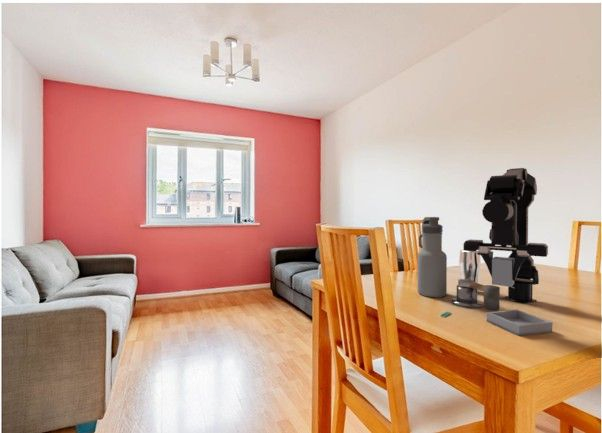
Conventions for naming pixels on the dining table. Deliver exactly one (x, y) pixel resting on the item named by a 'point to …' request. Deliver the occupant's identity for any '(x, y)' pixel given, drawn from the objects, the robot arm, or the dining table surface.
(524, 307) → the dining table surface
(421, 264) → the water bottle
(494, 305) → the crank arm
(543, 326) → the tray
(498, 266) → the block
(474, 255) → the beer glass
